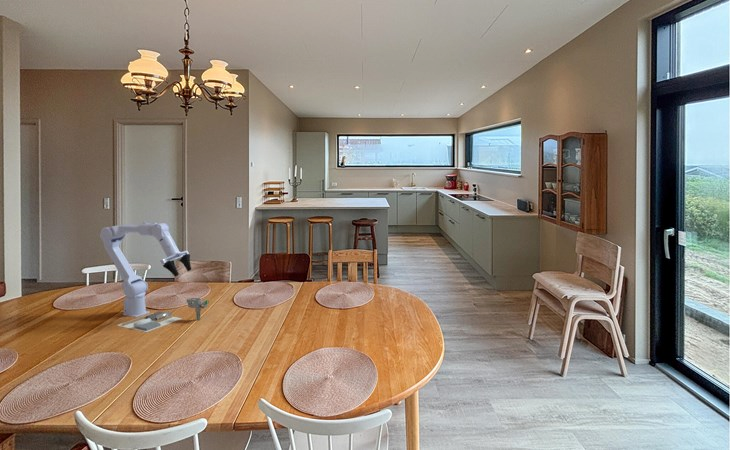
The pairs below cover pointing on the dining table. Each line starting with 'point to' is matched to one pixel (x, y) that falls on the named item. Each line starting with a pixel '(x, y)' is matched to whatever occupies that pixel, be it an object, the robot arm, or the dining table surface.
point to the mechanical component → (197, 305)
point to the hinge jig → (148, 323)
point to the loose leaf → (159, 315)
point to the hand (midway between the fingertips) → (183, 273)
